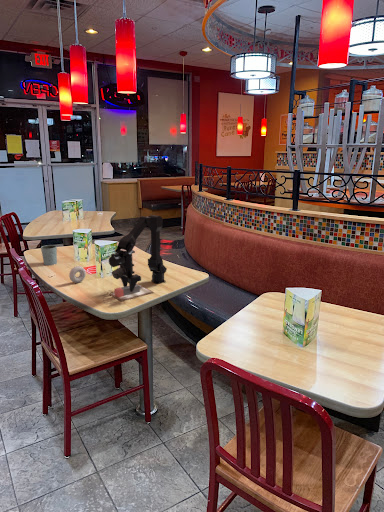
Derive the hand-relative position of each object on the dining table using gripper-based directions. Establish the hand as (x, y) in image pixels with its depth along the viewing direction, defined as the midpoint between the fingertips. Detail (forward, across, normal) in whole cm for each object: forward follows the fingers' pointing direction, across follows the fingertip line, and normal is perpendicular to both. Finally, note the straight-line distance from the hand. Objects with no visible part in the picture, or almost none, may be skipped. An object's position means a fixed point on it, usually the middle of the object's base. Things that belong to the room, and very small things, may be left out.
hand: (128, 290), depth 206 cm
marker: (+2, 0, 0) cm, 2 cm away
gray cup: (+3, -83, -14) cm, 84 cm away
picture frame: (+2, 0, +2) cm, 3 cm away
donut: (+3, -35, -14) cm, 38 cm away
